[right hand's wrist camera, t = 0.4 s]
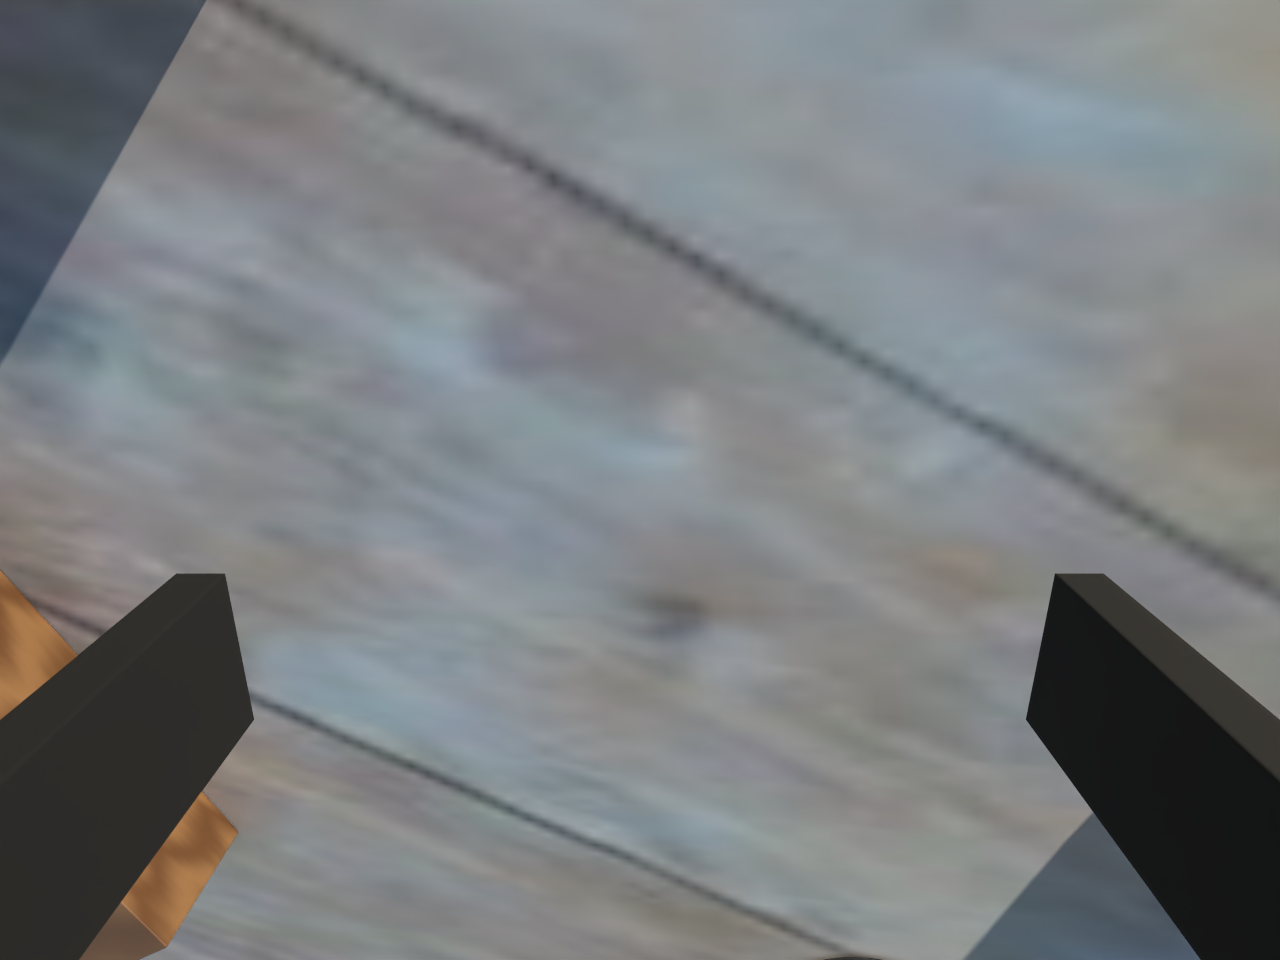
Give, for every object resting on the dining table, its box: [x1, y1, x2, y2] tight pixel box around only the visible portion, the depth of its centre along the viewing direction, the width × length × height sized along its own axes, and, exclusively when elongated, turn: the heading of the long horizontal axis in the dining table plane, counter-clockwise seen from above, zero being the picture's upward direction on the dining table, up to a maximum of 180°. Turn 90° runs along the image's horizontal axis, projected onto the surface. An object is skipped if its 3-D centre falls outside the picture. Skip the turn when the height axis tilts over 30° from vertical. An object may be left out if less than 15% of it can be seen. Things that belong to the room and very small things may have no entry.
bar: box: [0, 571, 238, 960], centre depth 41 cm, size 25×5×8 cm, turn 28°
